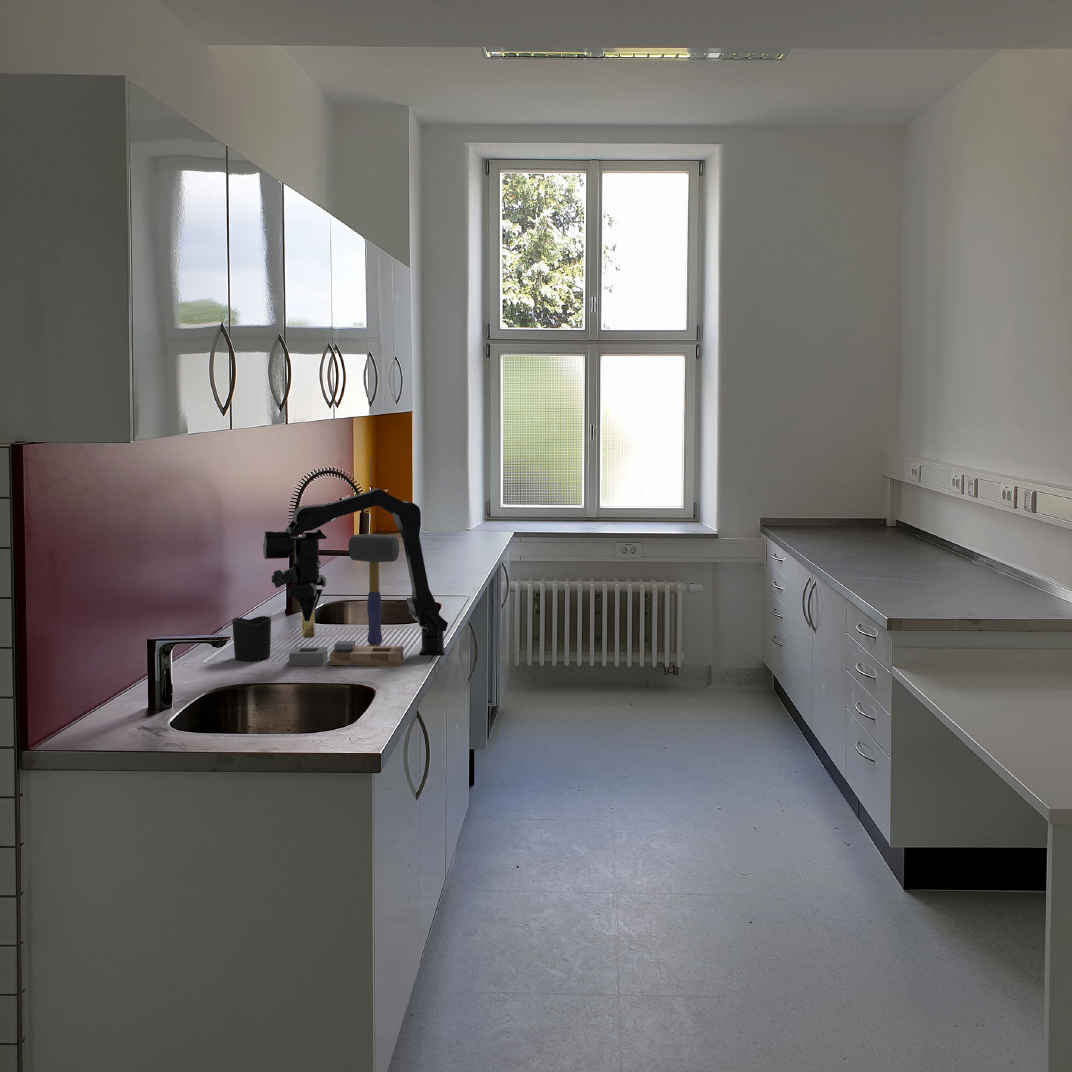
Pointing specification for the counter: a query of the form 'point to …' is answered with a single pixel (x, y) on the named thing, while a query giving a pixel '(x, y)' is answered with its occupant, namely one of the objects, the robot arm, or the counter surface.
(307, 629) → the brass rod
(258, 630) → the pen holder
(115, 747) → the counter surface
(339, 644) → the gray rectangular block
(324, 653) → the gray square frame
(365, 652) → the socket block
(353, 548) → the rubber mallet
